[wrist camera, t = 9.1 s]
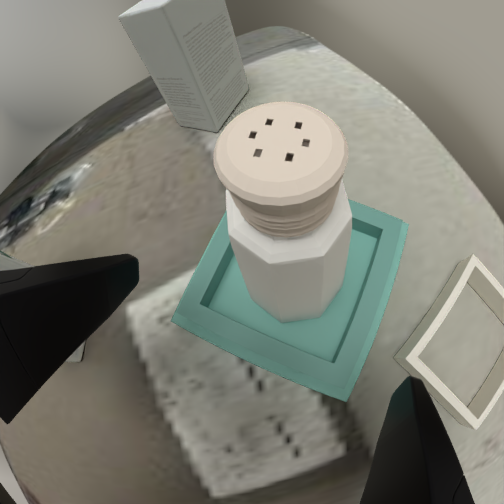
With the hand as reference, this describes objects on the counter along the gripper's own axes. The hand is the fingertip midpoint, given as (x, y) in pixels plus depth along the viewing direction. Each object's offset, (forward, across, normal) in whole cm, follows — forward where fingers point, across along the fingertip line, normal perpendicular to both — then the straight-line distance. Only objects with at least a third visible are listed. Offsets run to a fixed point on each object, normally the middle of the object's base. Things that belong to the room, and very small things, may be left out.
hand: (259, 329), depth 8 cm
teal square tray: (+8, +1, +3) cm, 9 cm away
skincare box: (+16, +12, -5) cm, 21 cm away
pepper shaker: (+8, +1, +3) cm, 8 cm away
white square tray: (+8, -12, +3) cm, 14 cm away
